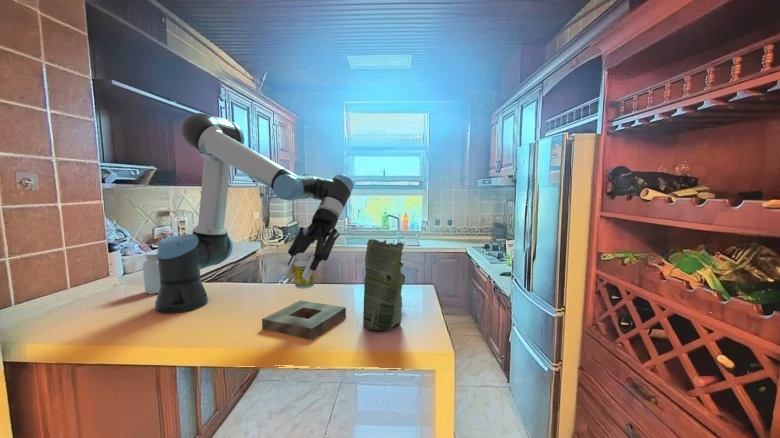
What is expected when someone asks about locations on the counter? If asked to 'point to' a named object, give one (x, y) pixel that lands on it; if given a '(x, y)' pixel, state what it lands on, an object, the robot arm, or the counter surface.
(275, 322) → the frame
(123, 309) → the counter surface
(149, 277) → the pill bottle
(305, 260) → the supplement bottle
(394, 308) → the pouch
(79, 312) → the counter surface
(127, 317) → the counter surface
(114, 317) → the counter surface
